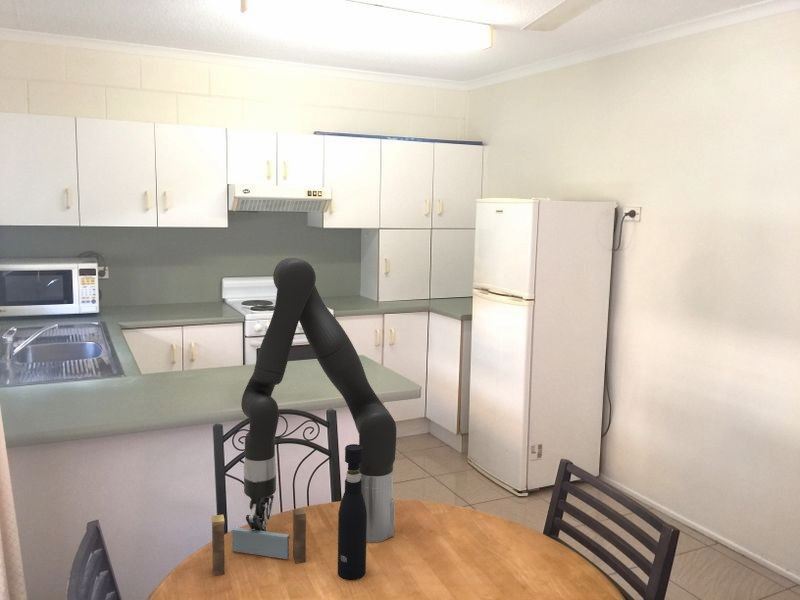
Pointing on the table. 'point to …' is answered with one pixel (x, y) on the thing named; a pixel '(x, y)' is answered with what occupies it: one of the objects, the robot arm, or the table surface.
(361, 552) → the black water bottle
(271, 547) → the gate
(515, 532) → the table surface
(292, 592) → the table surface
